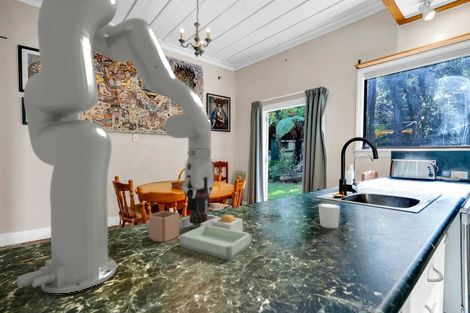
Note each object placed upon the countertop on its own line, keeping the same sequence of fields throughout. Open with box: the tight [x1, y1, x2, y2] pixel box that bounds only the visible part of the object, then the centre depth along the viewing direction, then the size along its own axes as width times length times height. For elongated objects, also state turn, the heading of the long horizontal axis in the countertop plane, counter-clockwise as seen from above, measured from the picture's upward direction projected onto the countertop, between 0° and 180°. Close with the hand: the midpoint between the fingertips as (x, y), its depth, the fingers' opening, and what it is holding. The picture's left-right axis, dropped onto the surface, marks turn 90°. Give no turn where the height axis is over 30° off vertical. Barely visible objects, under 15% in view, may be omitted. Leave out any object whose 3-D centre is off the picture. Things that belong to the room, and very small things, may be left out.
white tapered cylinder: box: [318, 203, 341, 229], centre depth 79 cm, size 7×7×7 cm
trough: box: [179, 225, 253, 261], centre depth 62 cm, size 11×16×3 cm
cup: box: [148, 210, 180, 243], centre depth 69 cm, size 7×7×7 cm
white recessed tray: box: [179, 214, 244, 232], centre depth 76 cm, size 10×19×4 cm, turn 58°
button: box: [220, 214, 235, 223], centre depth 72 cm, size 4×4×4 cm
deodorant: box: [189, 177, 209, 225], centre depth 77 cm, size 6×6×15 cm
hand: (198, 207), depth 77 cm, fingers closed on deodorant, 5 cm apart
